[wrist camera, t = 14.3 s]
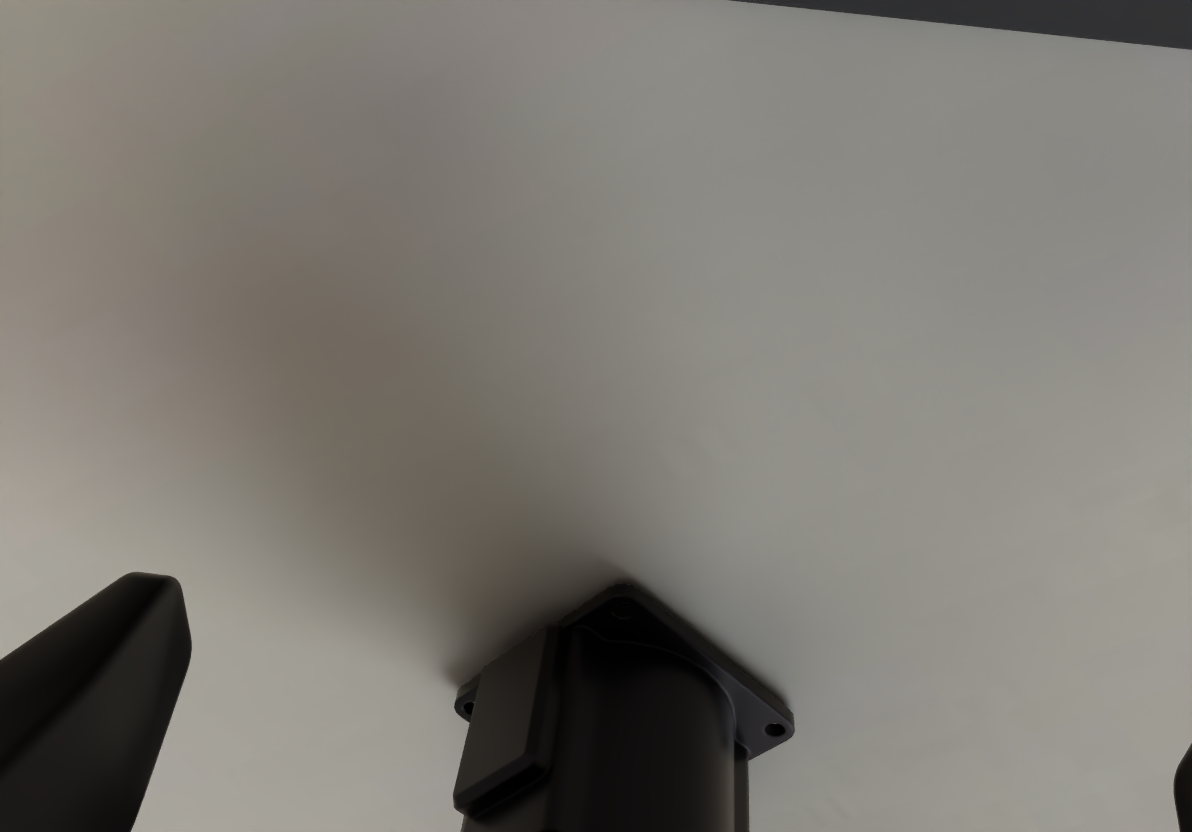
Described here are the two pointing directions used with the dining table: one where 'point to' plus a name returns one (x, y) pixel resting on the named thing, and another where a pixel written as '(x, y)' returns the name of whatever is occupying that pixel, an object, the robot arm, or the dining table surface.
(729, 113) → the dining table surface
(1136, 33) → the placemat
